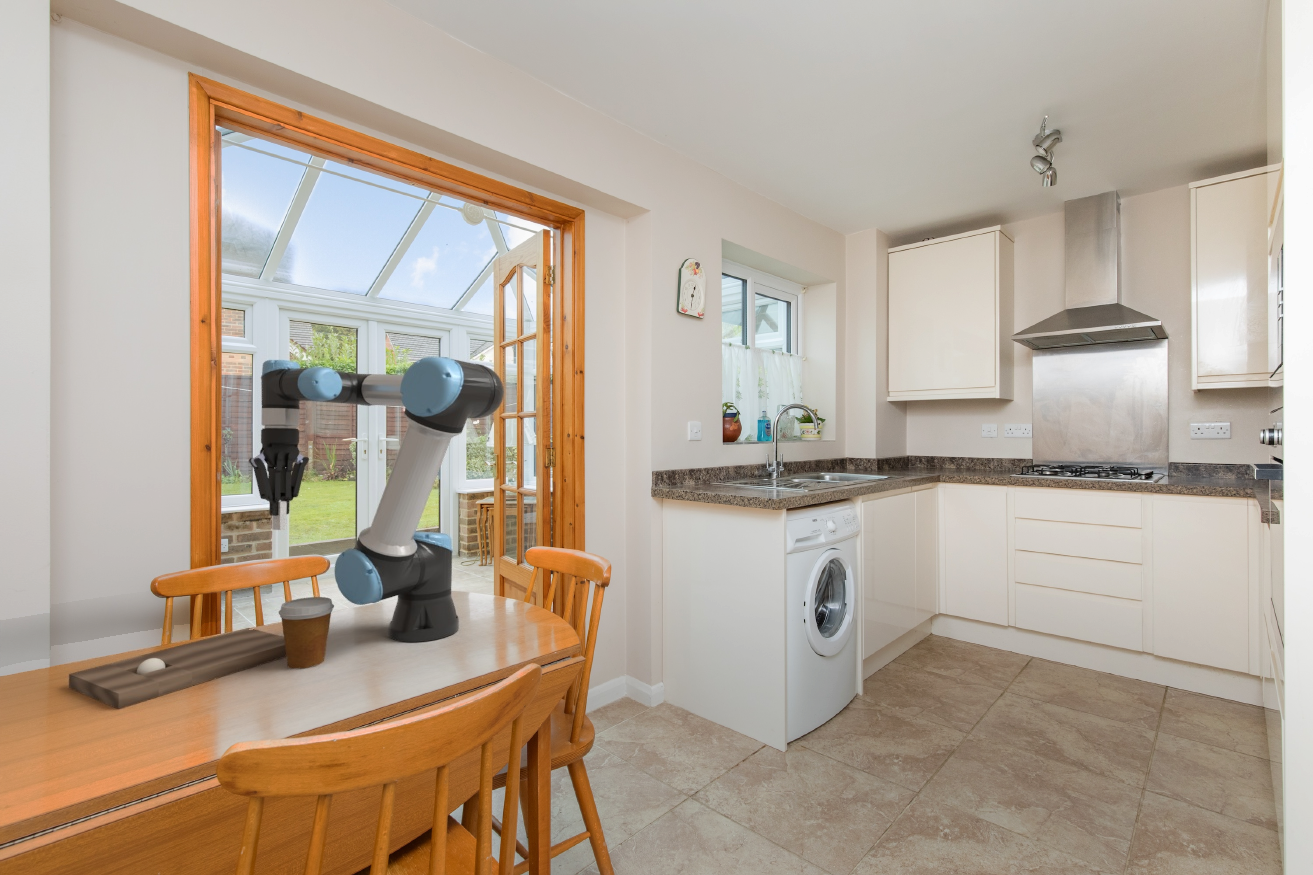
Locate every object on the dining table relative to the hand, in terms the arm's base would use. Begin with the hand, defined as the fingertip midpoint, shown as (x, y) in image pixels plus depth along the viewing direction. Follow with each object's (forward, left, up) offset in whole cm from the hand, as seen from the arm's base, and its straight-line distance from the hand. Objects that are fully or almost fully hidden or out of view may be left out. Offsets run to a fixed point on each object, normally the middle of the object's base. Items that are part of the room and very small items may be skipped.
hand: (279, 529), depth 139 cm
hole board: (-9, +21, -24) cm, 33 cm away
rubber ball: (-9, +28, -22) cm, 37 cm away
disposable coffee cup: (-25, +9, -24) cm, 36 cm away
